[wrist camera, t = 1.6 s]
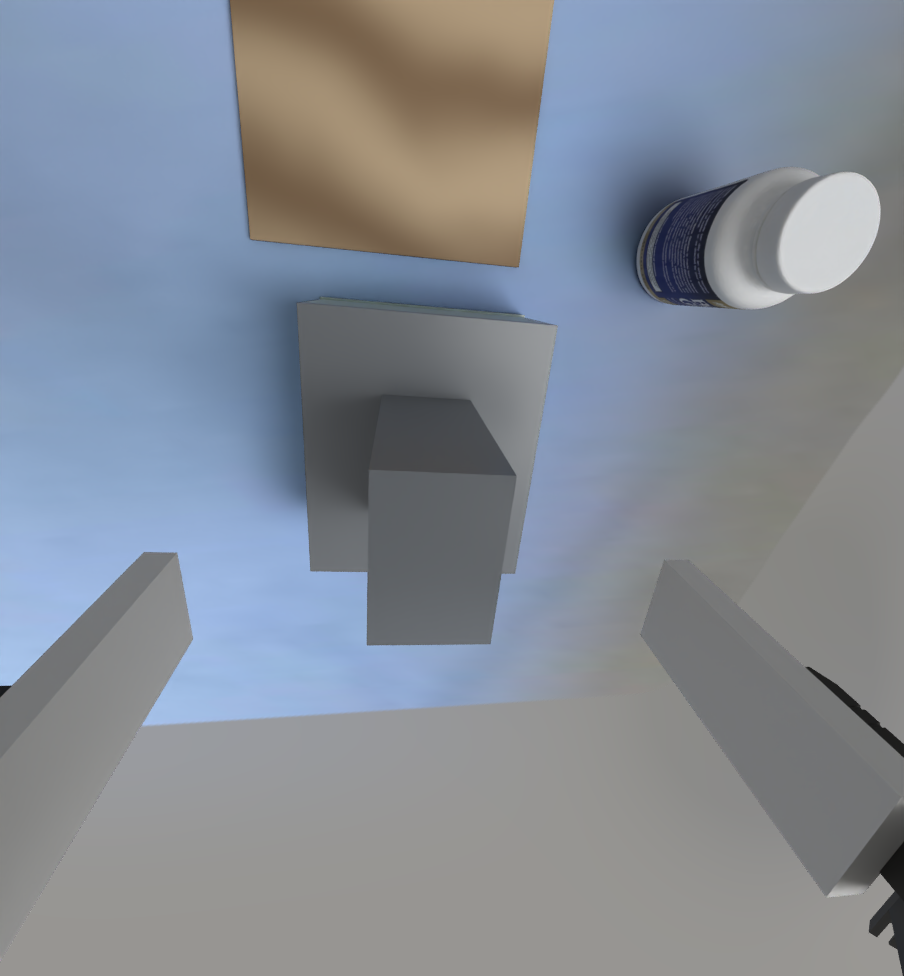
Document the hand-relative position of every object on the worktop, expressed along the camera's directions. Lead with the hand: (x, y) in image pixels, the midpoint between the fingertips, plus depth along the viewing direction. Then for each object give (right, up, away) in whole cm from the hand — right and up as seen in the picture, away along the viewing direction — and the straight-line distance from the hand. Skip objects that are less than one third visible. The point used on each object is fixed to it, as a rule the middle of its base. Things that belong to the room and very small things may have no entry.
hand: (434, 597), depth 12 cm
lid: (-1, +5, +10) cm, 11 cm away
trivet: (-2, +23, +8) cm, 24 cm away
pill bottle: (+13, +16, +13) cm, 25 cm away
